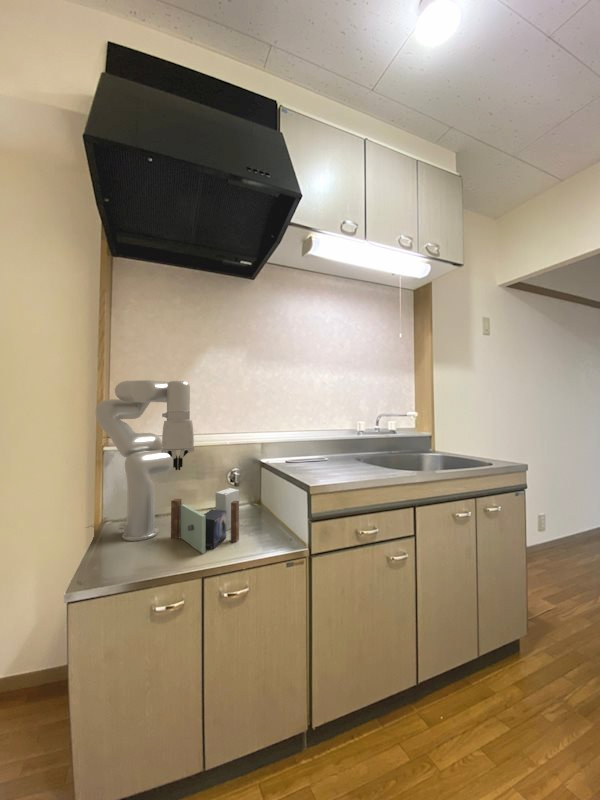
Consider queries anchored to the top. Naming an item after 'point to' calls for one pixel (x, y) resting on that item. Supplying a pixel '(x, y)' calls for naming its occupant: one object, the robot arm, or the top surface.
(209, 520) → the small box
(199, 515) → the door
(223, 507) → the skincare box
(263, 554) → the top surface
